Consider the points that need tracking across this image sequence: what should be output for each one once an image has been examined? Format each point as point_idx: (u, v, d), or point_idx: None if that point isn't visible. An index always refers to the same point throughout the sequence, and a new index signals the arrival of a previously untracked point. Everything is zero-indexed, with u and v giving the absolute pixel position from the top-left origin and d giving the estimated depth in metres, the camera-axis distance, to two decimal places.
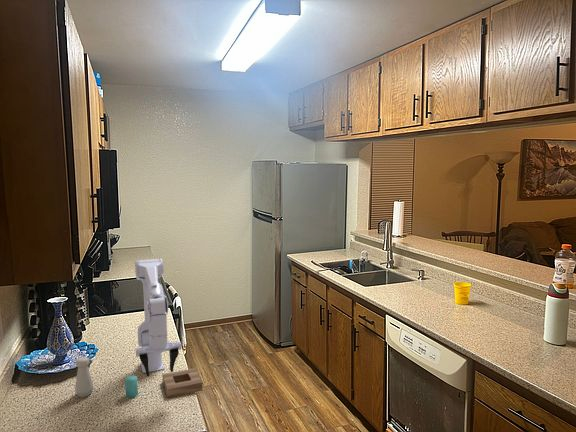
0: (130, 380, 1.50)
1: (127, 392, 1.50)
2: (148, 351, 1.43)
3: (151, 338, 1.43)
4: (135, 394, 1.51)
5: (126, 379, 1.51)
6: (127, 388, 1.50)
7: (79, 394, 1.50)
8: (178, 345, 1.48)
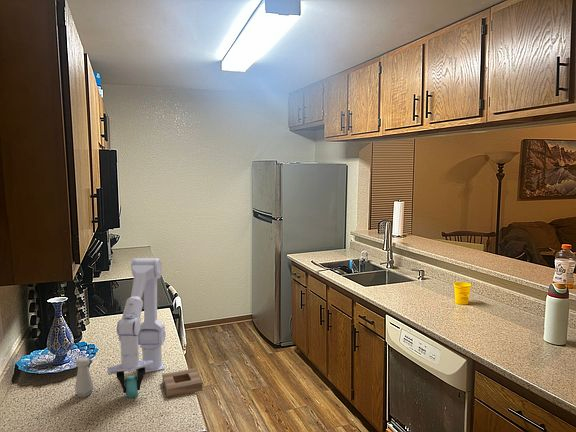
0: (130, 380, 1.50)
1: (127, 392, 1.50)
2: (120, 370, 1.48)
3: (123, 357, 1.49)
4: (135, 394, 1.51)
5: (126, 379, 1.51)
6: (127, 388, 1.50)
7: (79, 394, 1.50)
8: (149, 363, 1.53)
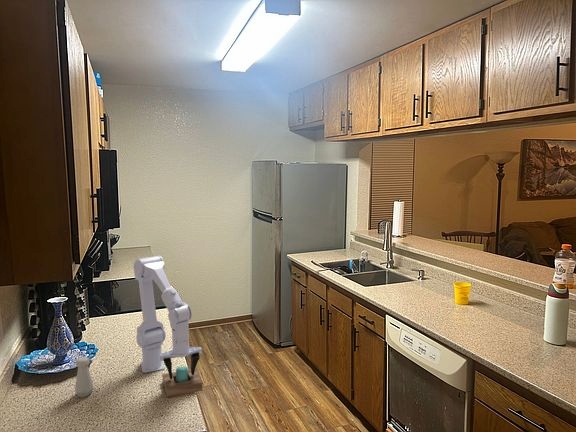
0: (181, 370, 1.56)
1: (178, 382, 1.56)
2: (172, 355, 1.54)
3: (174, 343, 1.54)
4: None
5: (177, 369, 1.57)
6: (178, 378, 1.56)
7: (79, 394, 1.50)
8: (199, 350, 1.58)
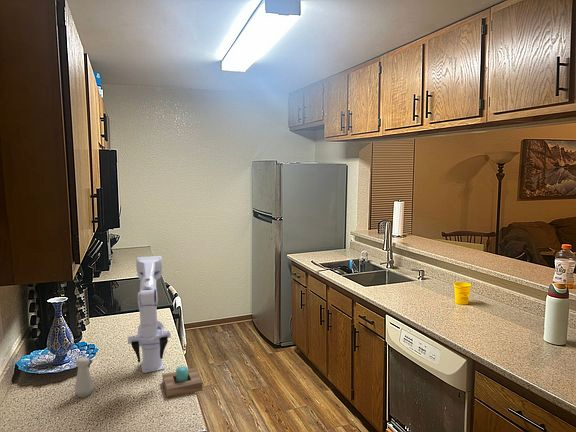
0: (181, 371, 1.56)
1: (178, 382, 1.56)
2: (139, 339, 1.55)
3: (142, 327, 1.55)
4: None
5: (177, 369, 1.57)
6: (178, 378, 1.56)
7: (79, 394, 1.50)
8: (167, 334, 1.59)
